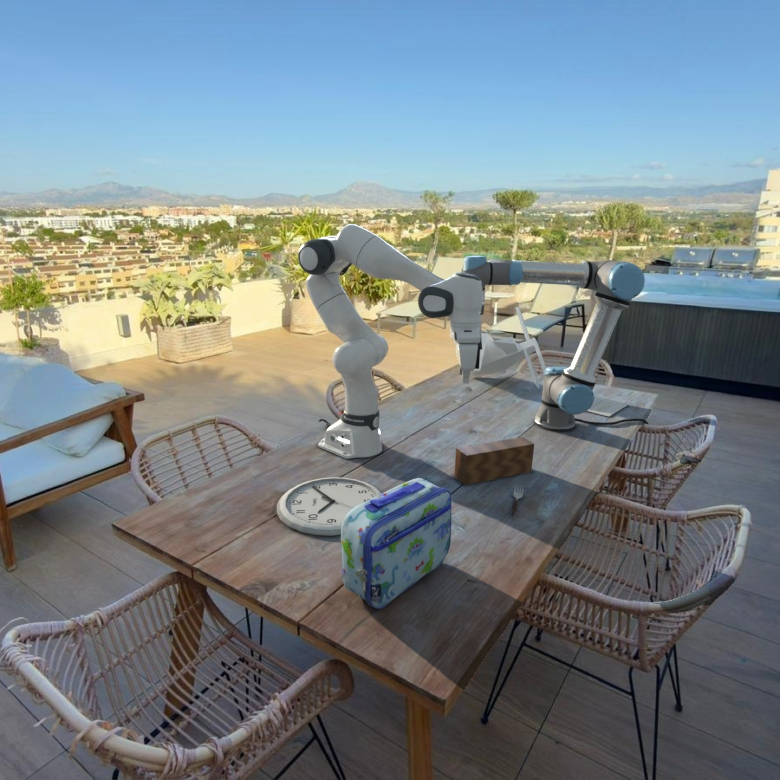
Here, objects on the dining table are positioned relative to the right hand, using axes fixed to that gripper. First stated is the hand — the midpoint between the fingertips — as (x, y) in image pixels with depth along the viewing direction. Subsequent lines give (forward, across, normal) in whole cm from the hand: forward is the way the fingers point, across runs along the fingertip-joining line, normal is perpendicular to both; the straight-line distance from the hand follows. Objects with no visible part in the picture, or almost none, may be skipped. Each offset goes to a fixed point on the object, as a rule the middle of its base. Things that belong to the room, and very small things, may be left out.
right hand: (470, 363), depth 183 cm
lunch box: (+27, +80, -33) cm, 91 cm away
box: (+28, +31, +2) cm, 41 cm away
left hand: (-4, +31, -9) cm, 33 cm away
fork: (+28, +49, +3) cm, 57 cm away
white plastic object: (+28, -67, +33) cm, 80 cm away
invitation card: (+29, -31, +66) cm, 78 cm away
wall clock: (+27, +48, -48) cm, 72 cm away
